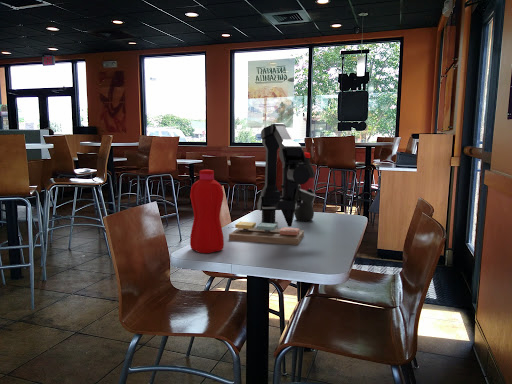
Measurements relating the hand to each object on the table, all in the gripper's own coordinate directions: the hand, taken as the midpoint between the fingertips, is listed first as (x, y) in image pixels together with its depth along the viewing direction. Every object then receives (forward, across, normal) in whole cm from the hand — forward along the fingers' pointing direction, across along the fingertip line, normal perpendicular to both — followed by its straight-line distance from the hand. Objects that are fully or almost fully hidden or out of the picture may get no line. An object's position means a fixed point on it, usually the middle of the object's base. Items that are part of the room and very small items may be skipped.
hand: (289, 226), depth 136 cm
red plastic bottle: (+5, -21, +23) cm, 31 cm away
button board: (+5, 0, +8) cm, 9 cm away
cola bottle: (+5, +38, 0) cm, 38 cm away
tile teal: (+3, 0, +8) cm, 8 cm away
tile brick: (+4, 0, 0) cm, 4 cm away
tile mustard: (+3, 0, +16) cm, 16 cm away
